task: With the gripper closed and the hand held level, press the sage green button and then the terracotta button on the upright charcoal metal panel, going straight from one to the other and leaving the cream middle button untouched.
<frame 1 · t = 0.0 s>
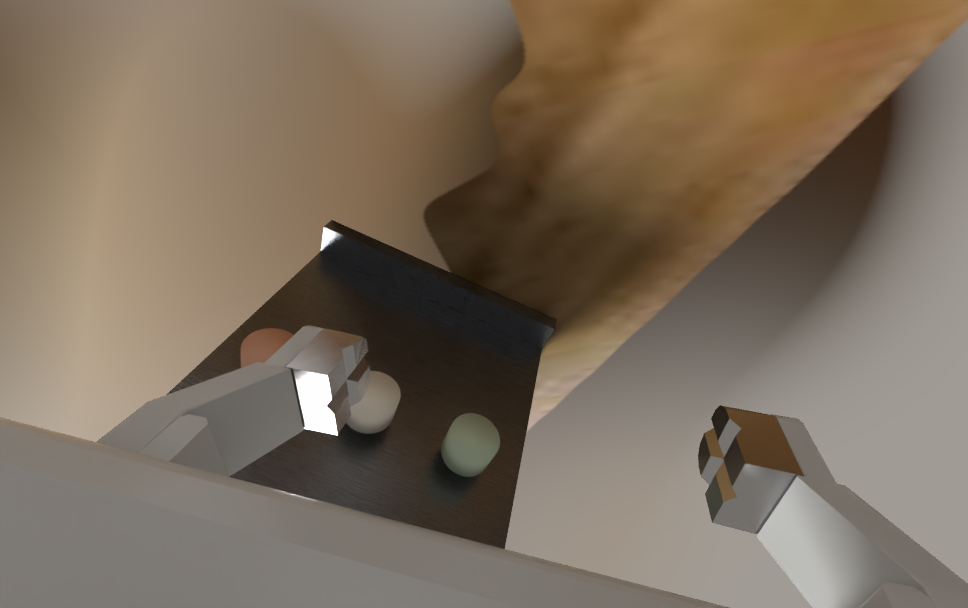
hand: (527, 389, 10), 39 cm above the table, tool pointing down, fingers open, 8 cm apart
button panel: (434, 297, 60), on the table
terracotta button: (270, 358, 40), point 22 cm above the table, slide at 0.0 cm
sage button: (470, 444, 41), point 22 cm above the table, slide at 0.0 cm
cream button: (371, 401, 40), point 22 cm above the table, slide at 0.0 cm
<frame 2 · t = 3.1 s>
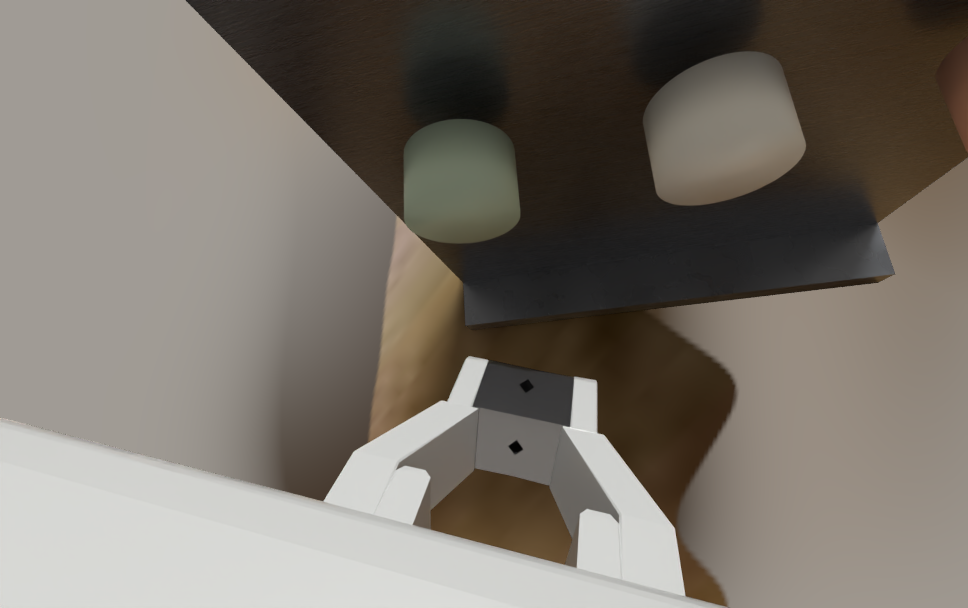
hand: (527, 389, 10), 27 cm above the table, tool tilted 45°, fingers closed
button panel: (645, 253, 38), on the table
sage button: (461, 187, 18), point 22 cm above the table, slide at 0.0 cm
cream button: (717, 137, 16), point 22 cm above the table, slide at 0.0 cm
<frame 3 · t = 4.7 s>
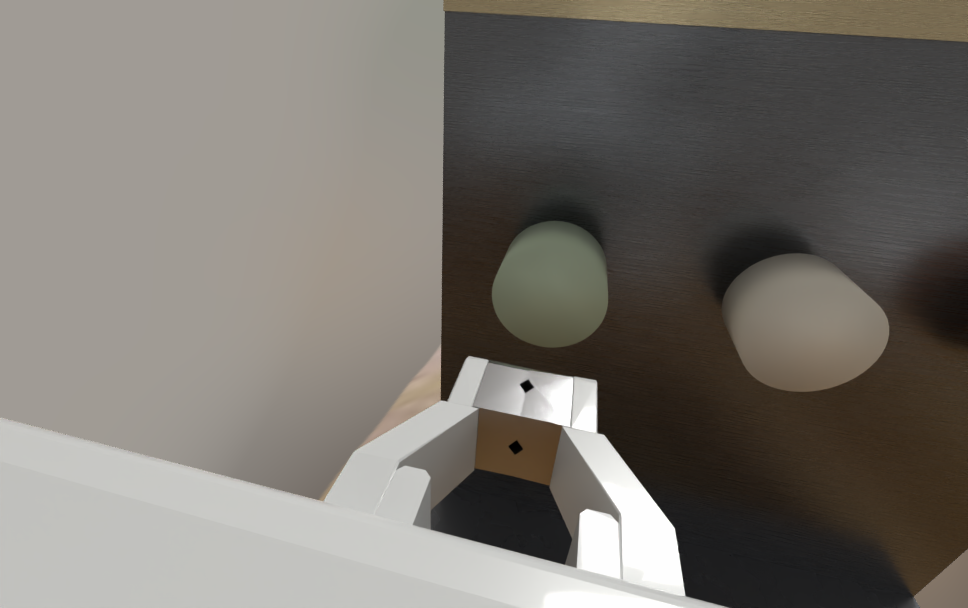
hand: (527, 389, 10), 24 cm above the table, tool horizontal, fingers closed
button panel: (648, 538, 33), on the table
sage button: (551, 283, 19), point 22 cm above the table, slide at 0.0 cm
cream button: (795, 322, 18), point 22 cm above the table, slide at 0.0 cm
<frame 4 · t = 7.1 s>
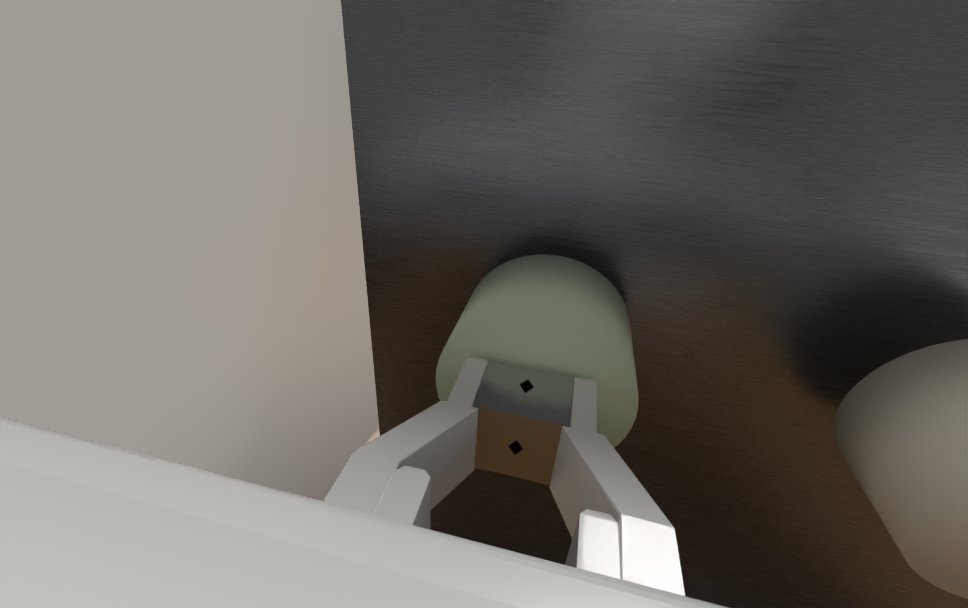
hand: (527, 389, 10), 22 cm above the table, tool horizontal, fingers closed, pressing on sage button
sage button: (539, 359, 12), point 22 cm above the table, slide at 0.9 cm, touching gripper
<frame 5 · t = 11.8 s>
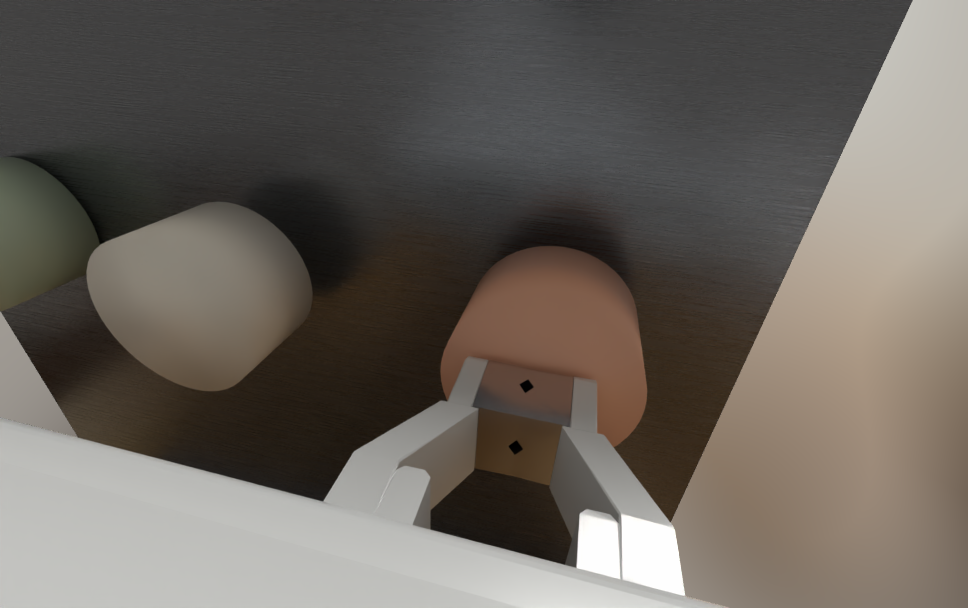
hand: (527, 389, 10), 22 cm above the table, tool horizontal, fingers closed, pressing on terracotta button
button panel: (351, 564, 28), on the table
terracotta button: (545, 352, 11), point 22 cm above the table, slide at 0.2 cm, touching gripper
cream button: (210, 295, 13), point 22 cm above the table, slide at 0.0 cm
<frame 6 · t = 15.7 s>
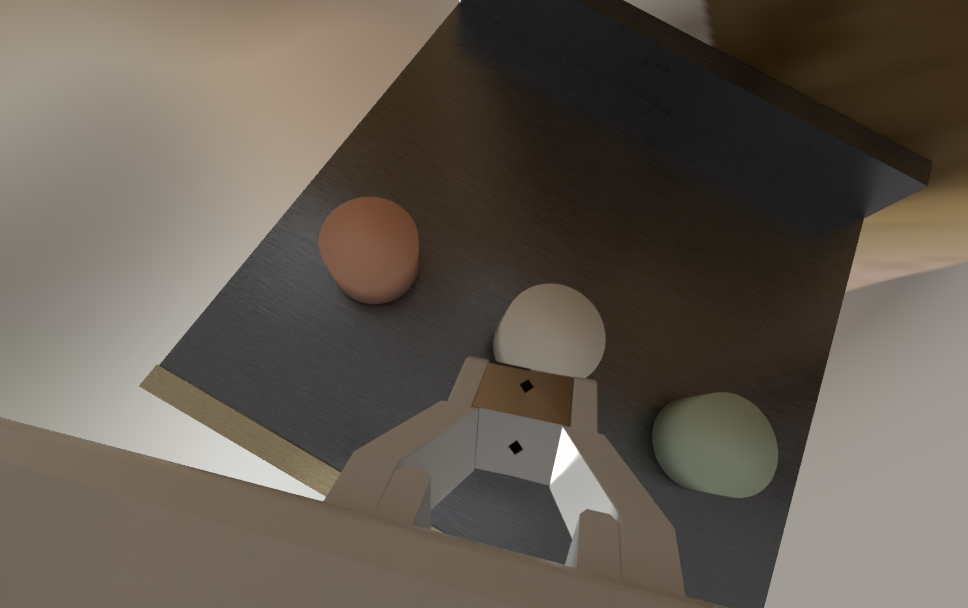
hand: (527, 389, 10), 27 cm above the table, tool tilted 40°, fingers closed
button panel: (660, 99, 32), on the table
terracotta button: (372, 252, 23), point 22 cm above the table, slide at 1.3 cm
sage button: (711, 443, 22), point 22 cm above the table, slide at 1.4 cm
cream button: (546, 340, 21), point 22 cm above the table, slide at 0.0 cm
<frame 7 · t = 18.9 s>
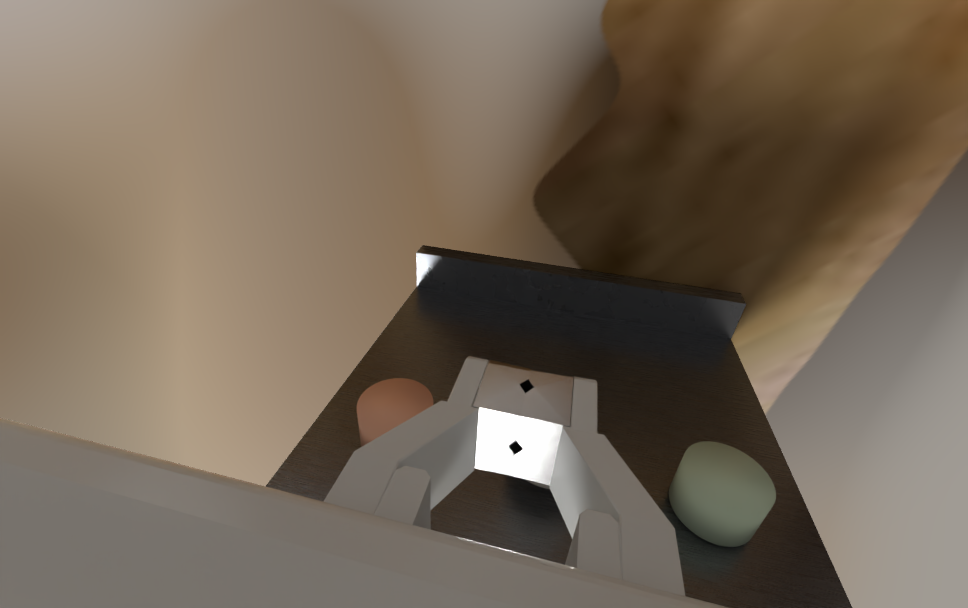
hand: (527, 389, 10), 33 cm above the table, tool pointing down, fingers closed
button panel: (564, 309, 47), on the table
terracotta button: (396, 419, 29), point 22 cm above the table, slide at 1.3 cm
sage button: (719, 491, 25), point 22 cm above the table, slide at 1.4 cm
cream button: (551, 438, 26), point 22 cm above the table, slide at 0.0 cm
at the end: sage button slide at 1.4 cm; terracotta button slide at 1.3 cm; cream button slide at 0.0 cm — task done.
